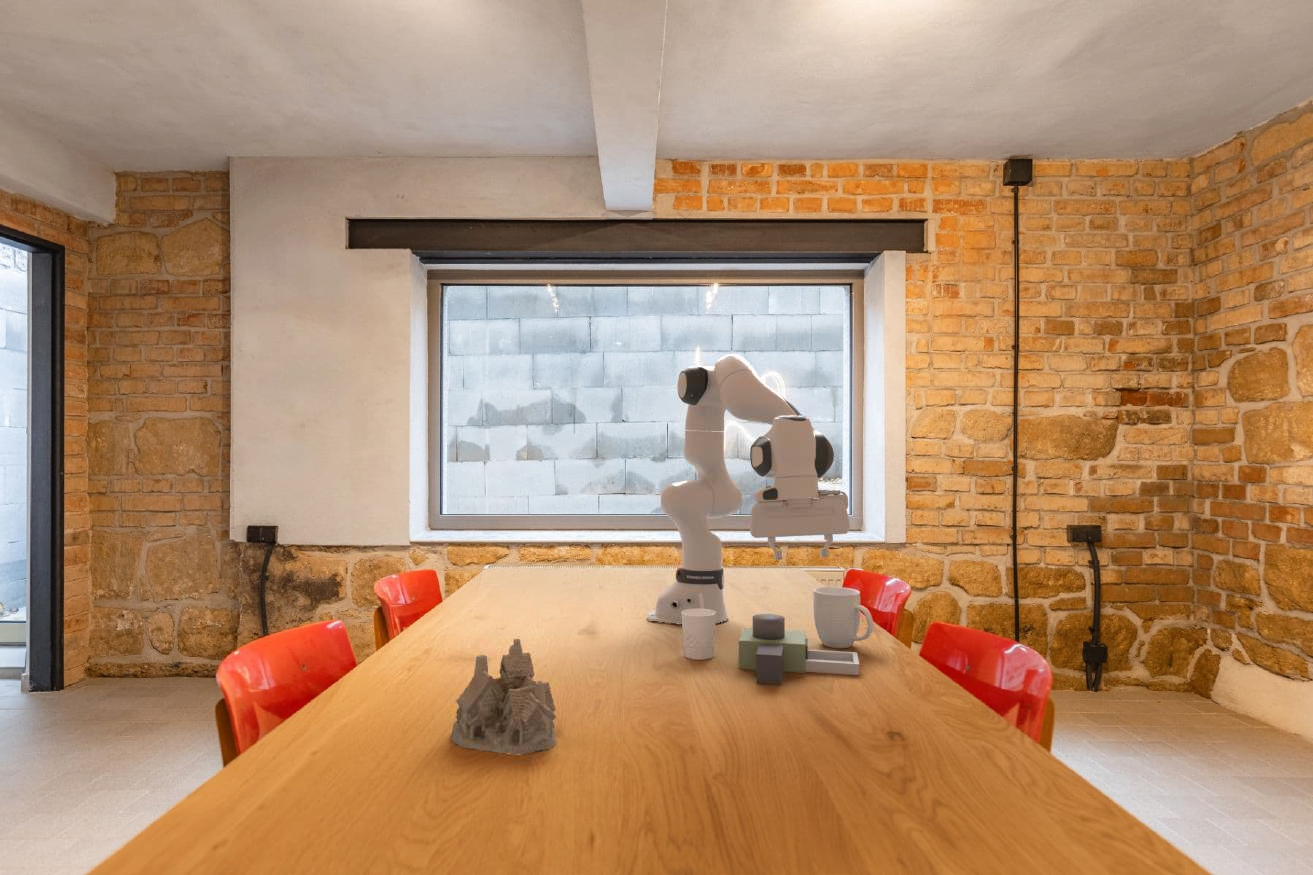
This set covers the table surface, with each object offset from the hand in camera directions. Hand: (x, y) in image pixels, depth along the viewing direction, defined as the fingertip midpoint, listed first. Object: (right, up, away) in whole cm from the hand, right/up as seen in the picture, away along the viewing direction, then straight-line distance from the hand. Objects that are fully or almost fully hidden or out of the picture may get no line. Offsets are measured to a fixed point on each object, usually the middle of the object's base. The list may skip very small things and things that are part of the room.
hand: (801, 558), depth 143 cm
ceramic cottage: (-55, -24, -30) cm, 67 cm away
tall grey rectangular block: (-7, -25, 0) cm, 26 cm away
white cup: (-20, -25, +16) cm, 36 cm away
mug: (+15, -26, +24) cm, 38 cm away
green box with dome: (+1, -25, +9) cm, 26 cm away
